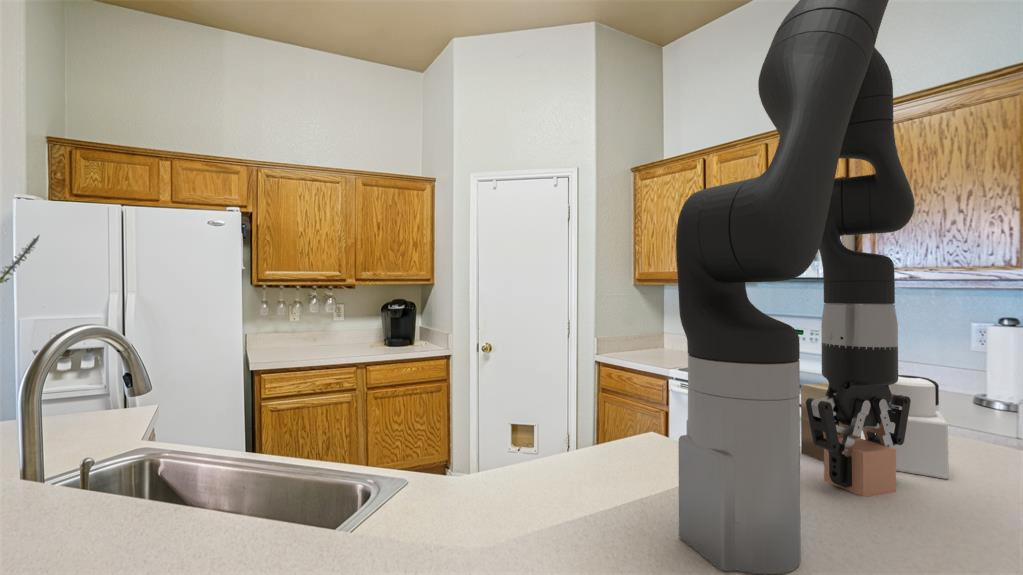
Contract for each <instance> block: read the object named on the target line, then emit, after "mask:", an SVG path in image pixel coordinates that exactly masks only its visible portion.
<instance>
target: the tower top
mask: <svg viewBox="0 0 1023 575" xmlns="http://www.w3.org/2000/svg"><path fill="white" fill-rule="evenodd" d="M828 386H829V382H817V383H815V382H814V383H803V384H802V383H801V384H800V420H801V419H804V420H807V421H809V417H808V412H807V407H806V400H807V399H808V398H813V399H817V400H818V399H820V398H823V397H826V392H827V390H828ZM839 425H840V426H841V427H847V425H844V424H841V422H839Z"/></svg>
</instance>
